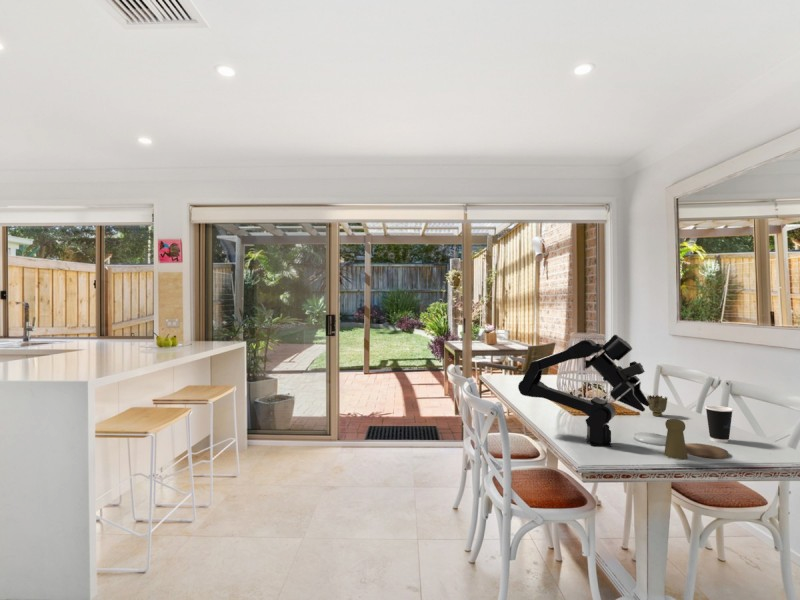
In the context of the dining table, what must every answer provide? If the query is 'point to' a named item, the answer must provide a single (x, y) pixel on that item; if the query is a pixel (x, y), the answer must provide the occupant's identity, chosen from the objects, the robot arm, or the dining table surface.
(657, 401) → the cup
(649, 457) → the dining table surface
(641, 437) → the grey round disc
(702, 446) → the walnut trivet
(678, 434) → the olive chess pawn
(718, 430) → the dixie cup
